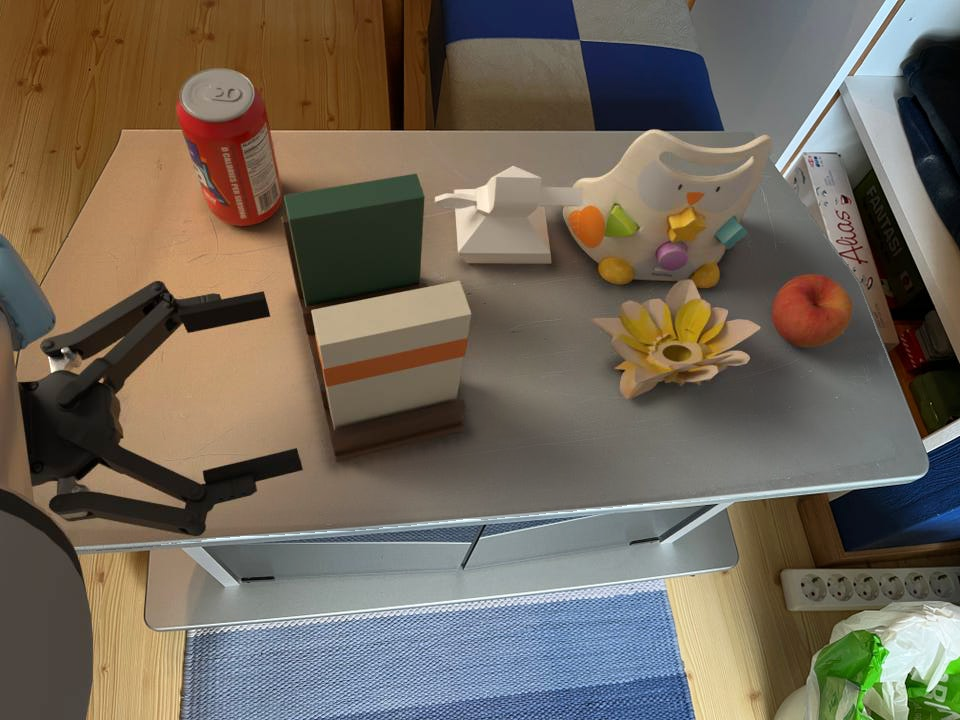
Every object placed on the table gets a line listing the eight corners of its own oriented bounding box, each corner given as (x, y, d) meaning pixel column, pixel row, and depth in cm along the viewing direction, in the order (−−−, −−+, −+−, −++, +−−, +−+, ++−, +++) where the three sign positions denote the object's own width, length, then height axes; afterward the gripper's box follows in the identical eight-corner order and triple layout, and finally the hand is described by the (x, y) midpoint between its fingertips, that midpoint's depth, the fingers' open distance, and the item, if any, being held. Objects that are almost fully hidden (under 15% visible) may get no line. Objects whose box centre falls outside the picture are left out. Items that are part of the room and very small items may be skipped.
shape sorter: (569, 287, 79) (612, 172, 63) (561, 208, 84) (599, 84, 68) (746, 292, 81) (831, 182, 65) (728, 215, 86) (803, 96, 70)
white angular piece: (430, 209, 82) (436, 115, 70) (554, 211, 83) (582, 119, 71) (433, 273, 78) (440, 185, 66) (563, 273, 80) (594, 188, 68)
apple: (838, 335, 80) (882, 295, 73) (799, 373, 77) (840, 335, 70) (785, 289, 82) (822, 246, 75) (744, 325, 79) (779, 284, 72)
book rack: (462, 431, 70) (476, 368, 58) (336, 462, 67) (323, 402, 56) (413, 276, 78) (417, 192, 66) (298, 298, 75) (280, 215, 63)
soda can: (278, 233, 78) (255, 128, 65) (202, 228, 78) (163, 121, 64) (287, 176, 82) (267, 65, 69) (214, 171, 81) (179, 58, 68)
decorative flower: (712, 277, 79) (755, 241, 69) (748, 378, 77) (797, 355, 67) (580, 309, 77) (606, 276, 67) (613, 414, 75) (644, 395, 65)
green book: (419, 301, 75) (424, 196, 61) (309, 323, 72) (289, 220, 58) (412, 280, 76) (416, 172, 62) (304, 301, 73) (283, 194, 59)
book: (454, 413, 69) (472, 314, 54) (336, 442, 67) (319, 346, 51) (445, 384, 71) (460, 279, 55) (329, 411, 68) (310, 309, 52)
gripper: (-3, 322, 61) (262, 273, 65) (6, 632, 50) (320, 546, 55) (-51, 270, 54) (247, 219, 59) (-52, 614, 44) (310, 519, 48)
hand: (283, 377), depth 57 cm, fingers open, 13 cm apart
